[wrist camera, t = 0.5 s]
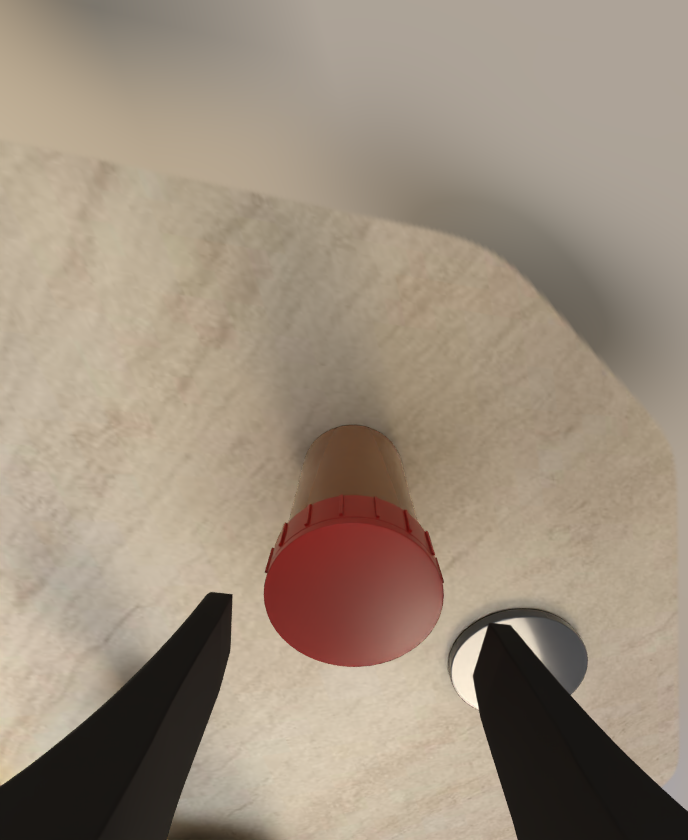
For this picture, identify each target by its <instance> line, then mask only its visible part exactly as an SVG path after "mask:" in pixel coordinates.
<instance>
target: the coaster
mask: <svg viewBox="0 0 688 840" xmlns="http://www.w3.org/2000/svg"><path fill="white" fill-rule="evenodd" d="M489 623H498V624H507V625H511V626H512V627H513V628H514V630H515V631H516V632H517V633H518V634H519V635H520V637H521V638H522V639H523V640H524V641H525V643H526V644H527V645H528V646H529V647H530V649H531V650H532V651H533V652H534V653H535V655H536V656H537V657H538V658H539V659H540V660H541V662H542V663H543V664H544V665H545V666H546V668H547V669H548V670H549V671H550V672H551V673H552V675H553V676H554V677H555V678H556V679H557V680H558V682H559V683H560V684H561V685H562V686H563V687H564V689H565V690H566V691H567V692H568V693H569V694H570V695H571V694H572V693H573V692H574V691H575V690H576V689H577V688H578V687H579V685H580V684H581V682H582V680H583V678H584V676H585V674H586V670H587V664H588V657H587V651H586V648H585V645H584V643H583V641H582V640H581V638H580V636H579V635H578V633H577V632H576V631H575V629H574V628H573V627H572V626H571V625H570V624H569V623H567V622H566V621H564V620H563V619H561V618H560V617H558V616H556V615H553V614H551V613H548V612H544V611H540V610H533V609H513V610H507V611H502V612H498V613H495V614H492V615H489V616H487V617H485V618H483V619H481V620H479V621H477V622H475V623H474V624H473V625H471V626H470V627H469V628H467V629H466V630H465V631H464V632H463V633H462V634H461V635H460V637H459V638H458V639H457V641H456V642H455V644H454V646H453V648H452V650H451V653H450V656H449V664H448V665H449V673H450V677H451V681H452V684H453V687H454V689H455V691H456V692H457V693H458V695H459V696H460V697H461V698H462V699H463V700H464V701H465V702H466V703H467V704H469V705H470V706H472V707H473V708H475V709H477V710H479V708H478V703H477V698H476V692H475V687H474V682H473V673H474V669H475V666H476V663H477V660H478V656H479V653H480V650H481V647H482V643H483V640H484V637H485V634H486V630H487V627H488V624H489Z"/></svg>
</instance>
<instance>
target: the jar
mask: <svg viewBox="0 0 688 840" xmlns="http://www.w3.org/2000/svg"><path fill="white" fill-rule="evenodd" d="M341 494H343V496H345V495H361V496H369V497H374V496H376V497H378V499H382V500H384V501H387V502H390V503H392V504H394V505H396V506H398V507H400V508H401V509H403V510H405V509H406V510H407V511H408V513H409V514H410V515H411V516H412V517H413V518H414V519H415V520H416V521H417V517H416V514H415V510H414V506H413V502H412V499H411V495H410V491H409V488H408V484H407V480H406V477H405V473H404V469H403V466H402V462H401V458H400V455H399V453H398V451H397V449H396V447H395V446H394V445H393V443H392V442H391V441H390V440H389V439H388V438H387V437H386V436H384V435H383V434H381V433H380V432H378V431H376V430H374V429H371V428H369V427H365V426H358V425H347V426H341V427H337V428H334V429H331V430H329V431H327V432H325V433H324V434H322V435H321V436H320V437H318V438H317V439H316V440H315V441H314V442H313V444H312V445H311V446H310V448H309V450H308V451H307V454H306V456H305V459H304V463H303V467H302V471H301V475H300V479H299V483H298V487H297V490H296V494H295V498H294V502H293V506H292V510H291V514H290V518H289V521H290V520H291V519H292V518H293V517H294V516H295V515H296V514H298V513H299V512H301V511H302V510H303V509H305V508H306V507H307V506H308V504H311V505H312V504H314V503H316V502H319V501H322V500H324V499H328V498H332V497H336V496H340V495H341ZM417 522H418V521H417Z"/></svg>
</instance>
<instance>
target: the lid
mask: <svg viewBox="0 0 688 840" xmlns="http://www.w3.org/2000/svg"><path fill="white" fill-rule="evenodd" d="M434 555H435V553H434V550H433V546H432V543H431V540H430V536H429V533H428V531H426V532H425V531H424V529H423V528H422V527H421V525H420V524H419V523H418V522H417V521H416V520H415V519H414V518H413V517H412V516H411V515H410V514H409V513H408V511H407V510H406V509H405V510H403V509H401V508H400V507H398V506H396V505H394V504H392V503H390V502H387V501H384V500H382V499H378V497H376V496H374V497H369V496H361V495H345V496H343V494H341V495H340V496H336V497H332V498H328V499H324V500H322V501H319V502H316V503H314V504H312V505H311V504H308V506H307V507H306V508H305V509H303V510H302V511H301V512H299V513H298V514H296V515H295V516H294V517H293V518H292V519H291V520H290V521H289V522H288V523H285V524H284V526H283V529H282V532H281V533H280V535H279V537H278V539H277V542H276V544H275V548H272V549H271V553H270V556H269V559H268V563H267V566H266V570H265V573H267V576H266V580H265V584H264V603H265V607H266V611H267V614H268V617H269V619H270V621H271V623H272V625H273V626H274V628H275V630H276V631H277V632H278V633H279V635H280V636H281V637H282V638H283V639H284V640H285V641H286V642H287V643H288V644H289V645H291V646H292V647H293V648H295V649H296V650H297V651H299V652H301V653H303V654H304V655H306V656H308V657H310V658H313V659H315V660H318V661H321V662H324V663H328V664H332V665H337V666H347V667H361V666H371V665H376V664H381V663H385V662H388V661H391V660H393V659H396V658H398V657H401V656H402V655H404V654H406V653H408V652H410V651H411V650H412V649H414V648H415V647H417V646H418V645H419V644H420V643H421V642H422V641H423V640H425V639H426V637H427V636H428V635H429V634H430V633H431V631H432V630H433V628H434V626H435V625H436V623H437V621H438V619H439V616H440V614H441V610H442V606H443V597H444V593H443V584H442V583H444V580H443V577H442V574H441V570H440V567H439V564H438V561H437V558H435V556H434Z"/></svg>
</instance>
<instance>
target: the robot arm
mask: <svg viewBox="0 0 688 840" xmlns="http://www.w3.org/2000/svg"><path fill="white" fill-rule="evenodd" d="M232 595H233V594H224V593H215V592H210V593H208V594H207V595H206V596H205V597H204V599H203V600H202V601H201V602H200V604H199V605H198V606H197V607H196V609H195V610H194V611H193V612H192V614H191V615H190V616H189V617H188V618H187V619H186V621H185V622H184V623H183V624H182V625H181V626H180V628H179V629H178V630H177V631H176V632H175V633H174V634H173V635H172V637H171V638H170V639H169V640H168V641H167V642H166V643H165V644H164V645H163V646H162V647H161V649H160V650H159V651H158V652H157V653H156V654H155V655H154V656H153V657H152V658H151V659H150V660H149V661H148V662H147V663H146V664H145V665H144V666H143V667H142V668H141V669H140V670H139V671H138V672H137V673H136V674H135V675H134V676H133V677H132V678H131V679H130V680H129V681H128V682H127V683H126V684H125V685H124V686H123V687H122V688H121V689H120V690H119V691H118V692H117V693H116V694H114V695H113V696H112V697H111V698H110V699H109V700H108V701H107V702H106V703H105V704H104V705H102V706H101V707H100V708H99V709H98V710H97V711H96V712H94V713H93V714H92V715H91V716H90V717H89V718H88V719H86V720H85V721H84V722H83V723H82V724H81V725H79V726H78V727H77V728H76V729H75V730H73V731H72V732H71V733H70V734H68V735H67V736H66V737H65V738H64V739H62V740H61V741H60V742H59V743H57V744H56V745H55V746H54V747H53V748H51V749H50V750H49V751H48V752H46V753H45V754H44V755H42V756H41V757H40V758H39V759H37V760H36V761H35V762H33V763H32V764H31V765H29V766H28V767H27V768H25V769H24V770H23V771H21V772H20V773H18V774H17V775H16V776H14V777H13V778H12V779H10V780H9V781H7V782H6V783H5V784H3V785H2V786H1V787H0V840H167V837H168V833H169V830H170V826H171V823H172V820H173V816H174V813H175V810H176V807H177V804H178V801H179V798H180V795H181V792H182V789H183V787H184V784H185V781H186V779H187V776H188V773H189V771H190V768H191V765H192V763H193V760H194V757H195V755H196V752H197V749H198V747H199V744H200V742H201V739H202V736H203V734H204V731H205V728H206V726H207V723H208V720H209V718H210V715H211V712H212V710H213V707H214V704H215V702H216V699H217V696H218V693H219V691H220V687H221V683H222V680H223V676H224V672H225V669H226V665H227V661H228V657H229V653H230V645H231V620H232ZM473 682H474V687H475V692H476V698H477V703H478V708H479V712H480V717H481V721H482V724H483V727H484V731H485V734H486V737H487V741H488V744H489V747H490V750H491V754H492V757H493V760H494V763H495V766H496V770H497V773H498V776H499V779H500V782H501V785H502V789H503V792H504V795H505V798H506V801H507V805H508V808H509V811H510V814H511V817H512V821H513V824H514V828H515V831H516V835H517V839H518V840H688V811H687V810H685V809H684V808H683V807H682V806H681V805H680V804H679V803H677V802H676V801H675V800H674V799H673V798H672V797H671V796H670V795H669V794H667V793H666V792H665V791H664V790H663V789H662V788H661V787H660V786H659V785H658V784H657V783H656V782H655V781H654V780H652V779H651V778H650V777H649V776H648V775H647V774H646V773H645V772H644V771H643V770H642V769H641V768H640V767H639V766H638V765H637V764H636V763H635V762H634V761H632V760H631V759H630V758H629V757H628V756H627V755H626V754H625V753H624V752H623V751H622V750H621V749H620V748H619V747H618V746H617V745H616V744H615V743H614V742H613V741H612V740H611V738H610V737H609V736H608V735H607V734H606V733H605V732H604V731H603V730H602V729H601V728H600V727H599V726H598V725H597V724H596V723H595V722H594V721H593V720H592V718H591V717H590V716H589V715H588V714H587V713H586V712H585V711H584V710H583V709H582V708H581V706H580V705H579V704H578V703H577V702H576V701H575V700H574V699H573V698H572V696H571V695H570V694H569V693H568V692H567V691H566V690H565V689H564V687H563V686H562V685H561V684H560V683H559V682H558V680H557V679H556V678H555V677H554V676H553V675H552V673H551V672H550V671H549V670H548V669H547V668H546V666H545V665H544V664H543V663H542V662H541V660H540V659H539V658H538V657H537V656H536V655H535V653H534V652H533V651H532V650H531V649H530V647H529V646H528V645H527V644H526V643H525V641H524V640H523V639H522V638H521V637H520V635H519V634H518V633H517V632H516V631H515V630H514V628H513V627H512V626H511V625H507V624H498V623H489V624H488V627H487V630H486V634H485V637H484V640H483V643H482V647H481V650H480V653H479V656H478V660H477V663H476V666H475V669H474V673H473Z"/></svg>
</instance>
